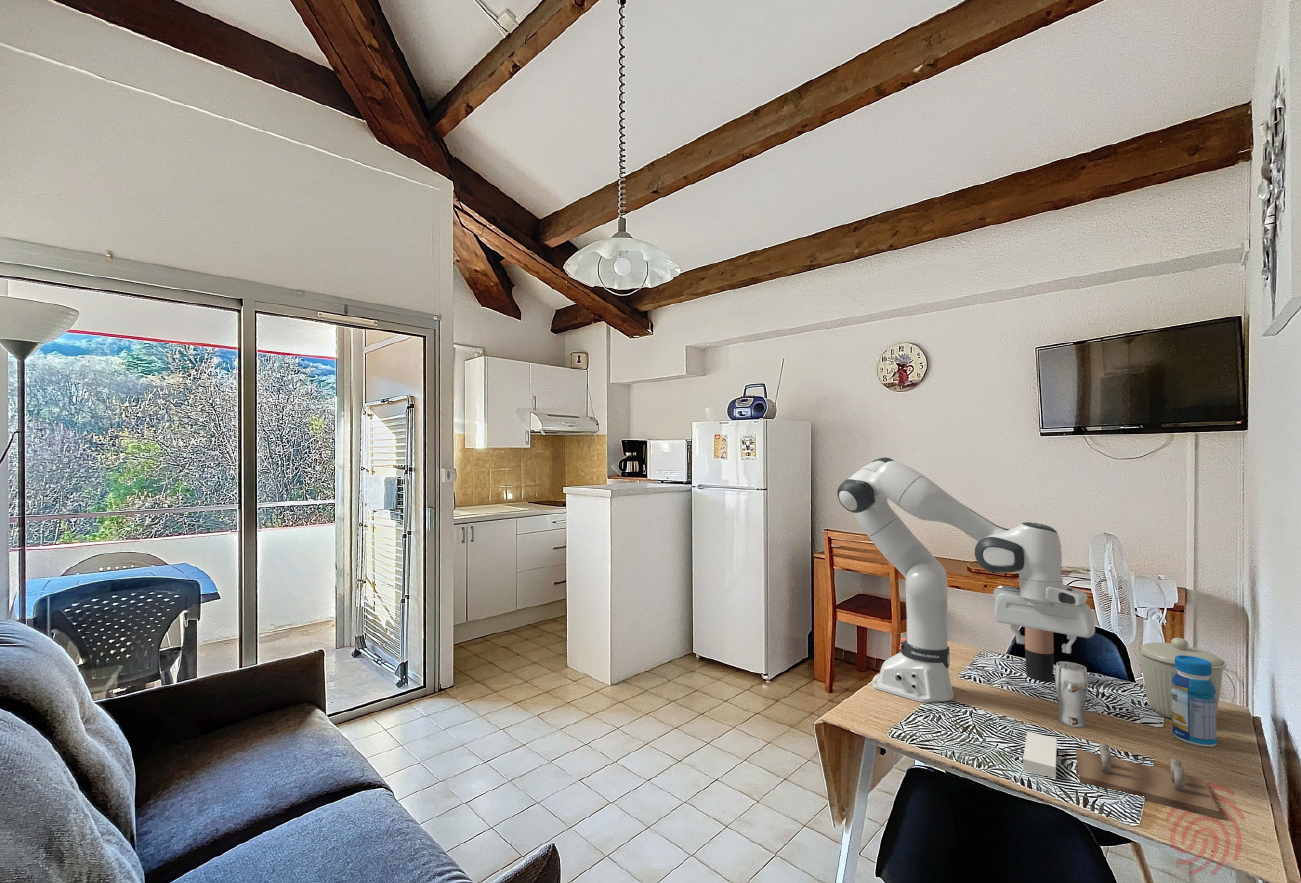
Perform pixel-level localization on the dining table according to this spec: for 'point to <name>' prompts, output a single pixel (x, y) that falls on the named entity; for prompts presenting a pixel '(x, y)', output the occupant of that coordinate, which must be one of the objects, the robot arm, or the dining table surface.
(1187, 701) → the beverage bottle
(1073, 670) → the beer glass
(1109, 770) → the peg stand
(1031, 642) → the travel mug
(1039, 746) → the shelf board
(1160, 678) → the canister
